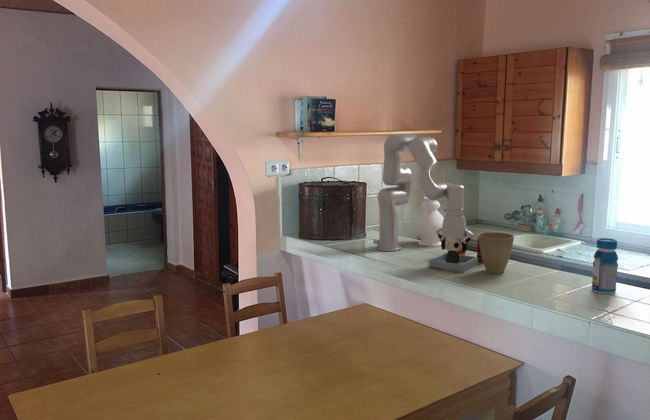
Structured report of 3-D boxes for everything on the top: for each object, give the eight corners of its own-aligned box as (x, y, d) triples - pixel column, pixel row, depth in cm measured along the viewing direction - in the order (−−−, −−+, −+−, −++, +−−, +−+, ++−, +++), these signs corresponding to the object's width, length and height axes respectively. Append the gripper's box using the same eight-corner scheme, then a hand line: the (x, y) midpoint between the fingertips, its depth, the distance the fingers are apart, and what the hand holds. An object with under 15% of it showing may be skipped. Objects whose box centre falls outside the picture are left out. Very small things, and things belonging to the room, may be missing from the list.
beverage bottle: (608, 296, 204) (612, 242, 202) (586, 290, 211) (590, 239, 208) (620, 292, 209) (624, 240, 206) (598, 287, 216) (601, 236, 213)
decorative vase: (453, 243, 298) (455, 197, 294) (433, 248, 286) (434, 200, 282) (427, 239, 311) (428, 194, 307) (406, 243, 299) (407, 197, 295)
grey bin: (428, 267, 247) (429, 260, 247) (445, 260, 261) (445, 252, 261) (462, 273, 238) (462, 265, 238) (477, 264, 252) (477, 257, 252)
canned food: (475, 261, 258) (475, 238, 256) (478, 258, 265) (479, 235, 263) (491, 263, 254) (492, 240, 253) (495, 259, 261) (496, 236, 260)
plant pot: (498, 265, 250) (500, 230, 248) (519, 273, 236) (521, 237, 234) (470, 268, 246) (471, 233, 243) (489, 277, 232) (491, 239, 229)
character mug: (452, 267, 244) (452, 238, 242) (439, 264, 249) (439, 236, 247) (467, 263, 250) (467, 235, 249) (454, 261, 256) (454, 233, 254)
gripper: (433, 212, 248) (432, 249, 251) (470, 215, 238) (469, 254, 241) (440, 210, 254) (439, 246, 257) (476, 213, 244) (475, 251, 247)
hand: (453, 250), depth 249 cm, fingers open, 9 cm apart
